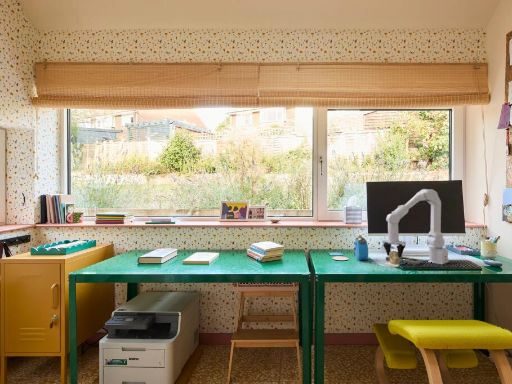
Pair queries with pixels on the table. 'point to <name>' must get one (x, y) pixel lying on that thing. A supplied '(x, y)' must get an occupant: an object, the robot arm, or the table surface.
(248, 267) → the table surface
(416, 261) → the rail
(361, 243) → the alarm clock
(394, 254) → the peg
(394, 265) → the mat
